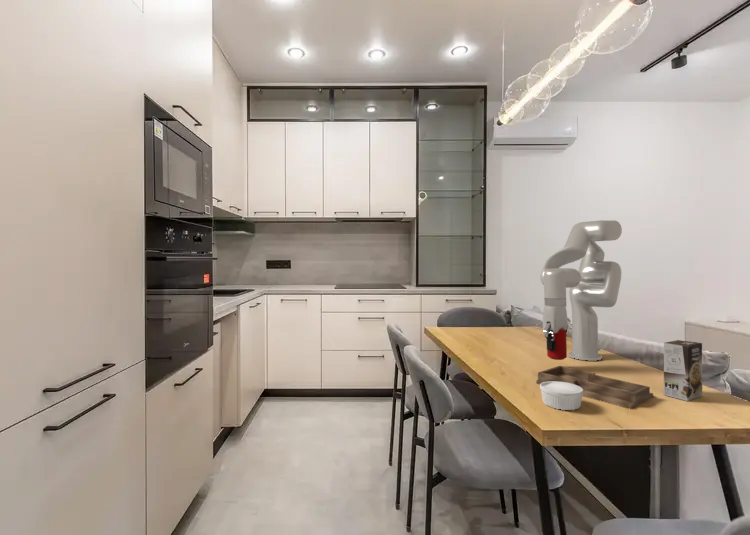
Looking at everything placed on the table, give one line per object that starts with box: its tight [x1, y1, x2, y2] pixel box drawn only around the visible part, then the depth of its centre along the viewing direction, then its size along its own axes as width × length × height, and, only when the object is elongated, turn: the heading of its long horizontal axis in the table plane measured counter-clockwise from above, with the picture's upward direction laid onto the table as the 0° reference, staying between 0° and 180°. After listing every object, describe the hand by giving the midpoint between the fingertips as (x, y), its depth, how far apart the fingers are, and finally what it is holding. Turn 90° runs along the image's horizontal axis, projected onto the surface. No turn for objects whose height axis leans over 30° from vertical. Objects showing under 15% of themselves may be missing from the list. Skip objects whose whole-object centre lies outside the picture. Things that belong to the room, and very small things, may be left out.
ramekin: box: [539, 381, 583, 411], centre depth 106 cm, size 11×11×5 cm
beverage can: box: [546, 327, 568, 361], centre depth 142 cm, size 7×7×12 cm
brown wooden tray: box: [535, 365, 654, 410], centre depth 118 cm, size 28×16×4 cm, turn 35°
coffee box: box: [663, 339, 703, 402], centre depth 112 cm, size 9×6×16 cm
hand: (556, 348), depth 142 cm, fingers closed on beverage can, 6 cm apart
